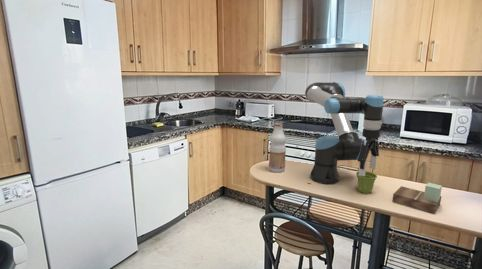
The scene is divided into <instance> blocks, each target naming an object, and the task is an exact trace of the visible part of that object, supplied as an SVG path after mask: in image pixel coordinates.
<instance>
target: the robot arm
mask: <svg viewBox="0 0 482 269" xmlns="http://www.w3.org/2000/svg"><path fill="white" fill-rule="evenodd" d="M304 95H305V98H306V99H307V101H310V102H312V103H316V104H318V105H321V107H323V108H324V111H325V113H326V114H330V117H331V120H332V123H333V125H334V129H335V131H336V134H337V135H322V136H319V137H318V138H317V139H316V140H315V146H314V147H315V148H314V151H315V152H314V164H313V167H312V169H311V172H310V176H309V177H310V179H311V181H313V182H316V183H318V184H324V185H335V184H337V183H339V181H340V175H339V171H338V161H357V162H359V168H358V172H359V175H361V176H365V172H366V171H367V159H368V157H369V154H371V155H370V157H369V169H370V170H376V169H377V168H376V167H377V158H378V157H379V156H380V152H379V138H380V137H381V128H382V125H383V123H382V118H383V112H384V111H383V110H384V100H385V98H384V96H383V95H381V94H380V95H378V94H368V95H366V96H365V97H347V98H346V88H345V86H344V85H343V84H342V83H340V82H335V81H333V82H332V81H331V82H313V83H310V84H309V85H308V86H307V87H306V88H305V91H304ZM348 114H363V123H362V124H363V125H362V128H363V129H362V134H361V135H362V137H360V136H359V134H358V133H357V132H355V131H354V129H353V127H352V124H351V122H350V118H349V116H348ZM363 137H364V138H363Z"/></svg>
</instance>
